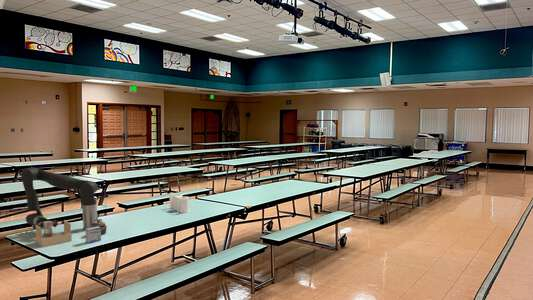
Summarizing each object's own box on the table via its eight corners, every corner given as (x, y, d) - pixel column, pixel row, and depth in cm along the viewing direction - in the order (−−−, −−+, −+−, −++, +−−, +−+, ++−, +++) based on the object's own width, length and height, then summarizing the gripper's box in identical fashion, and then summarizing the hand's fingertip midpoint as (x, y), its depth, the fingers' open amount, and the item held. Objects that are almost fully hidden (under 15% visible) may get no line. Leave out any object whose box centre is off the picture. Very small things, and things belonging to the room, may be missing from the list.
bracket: (191, 212, 329) (191, 197, 328) (180, 213, 324) (180, 199, 323) (179, 206, 350) (179, 193, 349) (169, 208, 344) (168, 194, 343)
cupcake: (93, 237, 259) (92, 222, 258) (90, 233, 267) (89, 219, 266) (108, 234, 265) (108, 219, 264) (105, 231, 272) (104, 217, 272)
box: (50, 235, 261) (49, 220, 261) (52, 237, 258) (51, 222, 257) (44, 236, 259) (43, 221, 258) (46, 238, 255) (45, 223, 255)
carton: (59, 233, 268) (58, 217, 268) (71, 241, 250) (71, 223, 250) (31, 238, 257) (30, 221, 256) (42, 246, 239) (41, 229, 238)
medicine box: (88, 243, 245) (88, 229, 244) (85, 242, 248) (85, 228, 247) (101, 240, 251) (100, 227, 250) (98, 239, 254) (97, 226, 253)
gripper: (29, 218, 264) (35, 223, 252) (52, 215, 273) (59, 219, 262) (29, 229, 264) (36, 234, 252) (52, 225, 274) (60, 230, 262)
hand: (48, 226), depth 257 cm, fingers open, 8 cm apart
